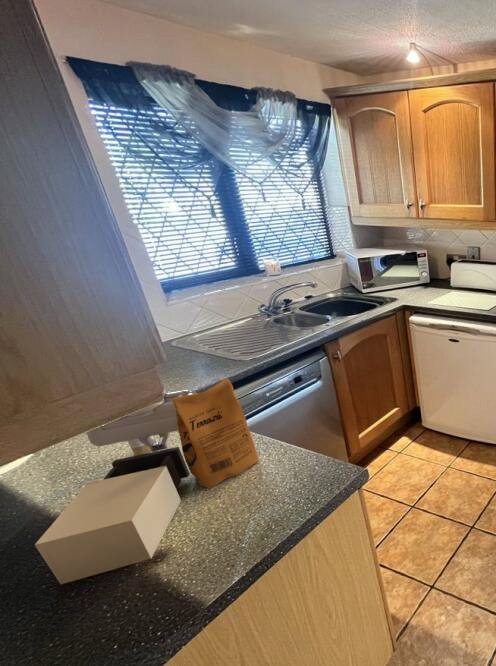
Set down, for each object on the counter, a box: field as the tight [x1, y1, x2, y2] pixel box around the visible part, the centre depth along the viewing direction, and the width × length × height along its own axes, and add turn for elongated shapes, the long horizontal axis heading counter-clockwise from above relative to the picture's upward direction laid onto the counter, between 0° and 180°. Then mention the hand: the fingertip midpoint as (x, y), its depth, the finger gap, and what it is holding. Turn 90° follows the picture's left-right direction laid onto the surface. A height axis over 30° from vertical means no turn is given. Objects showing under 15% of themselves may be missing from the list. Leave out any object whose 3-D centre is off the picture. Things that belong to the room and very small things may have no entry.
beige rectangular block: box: [34, 466, 182, 585], centre depth 73 cm, size 15×13×10 cm
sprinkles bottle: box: [127, 436, 156, 456], centre depth 95 cm, size 5×5×14 cm
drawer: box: [102, 446, 191, 491], centre depth 82 cm, size 18×11×8 cm, turn 22°
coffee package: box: [172, 378, 259, 489], centre depth 88 cm, size 10×12×22 cm
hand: (161, 448), depth 90 cm, fingers closed
